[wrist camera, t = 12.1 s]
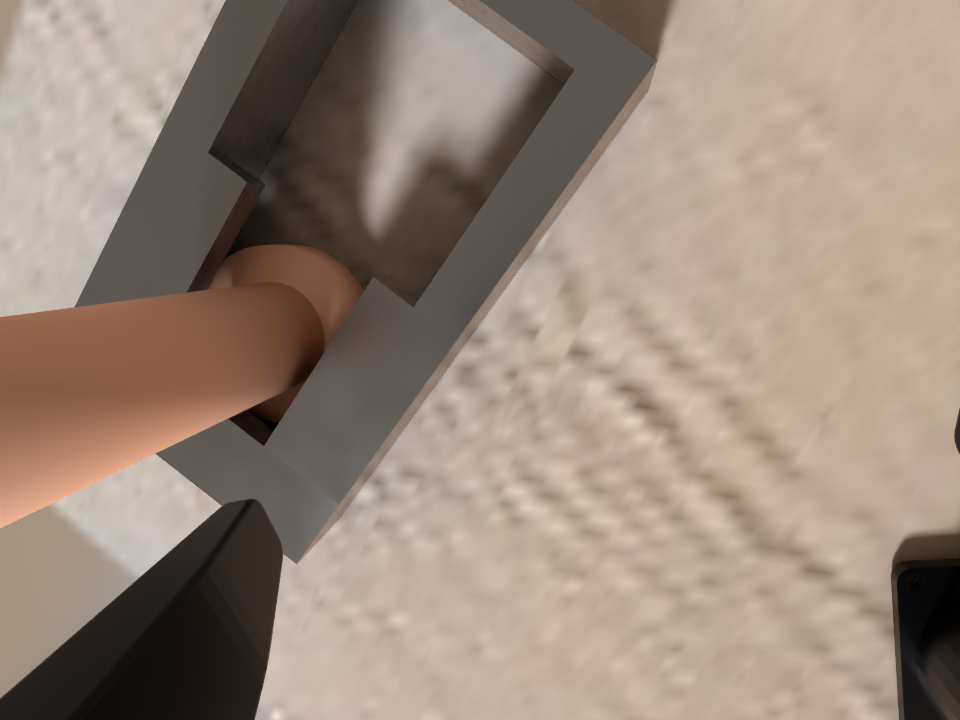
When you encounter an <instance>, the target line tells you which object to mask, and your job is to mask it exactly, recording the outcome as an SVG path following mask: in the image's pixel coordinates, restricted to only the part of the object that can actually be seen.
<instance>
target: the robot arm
mask: <svg viewBox="0 0 960 720" xmlns="http://www.w3.org/2000/svg"><path fill="white" fill-rule="evenodd" d="M954 437H955V444H956V447H957V449H958V452H959V453H960V409H959V413H958V418H957V423H956V427H955V433H954ZM282 561H283V548H282V543H281V540H280V538H279V536H278V534H277V532H276V530H275V528H274V526H273V524H272V523H271V521H270V519H269V517H268V515H267V513H266V511H265V509H264V507H263V506H262V504H261V503H260V502H259V501H258V500H256V499H246V500H240V501H234V502H229V503H226V504H224V505H223V506H222V507H221V508H219V509H218V510H217V511H216V512H215V513H214V514H212V515H211V516H210V517H209V518H208V519H207V520H206V521H204V522H203V523H202V524H201V525H200V526H199V527H197V528H196V529H195V530H194V531H193V532H192V533H191V534H189V535H188V536H187V537H186V538H185V539H184V540H182V541H181V542H180V543H179V544H178V545H177V546H176V547H174V548H173V549H172V550H171V551H170V552H169V553H167V554H166V555H165V556H164V557H163V558H162V559H161V560H159V561H158V562H157V563H156V564H155V565H154V566H152V567H151V568H150V569H149V570H148V571H147V572H146V573H144V574H143V575H142V576H141V577H140V578H139V579H137V580H136V581H135V582H134V583H133V584H132V585H131V586H129V587H128V588H127V589H126V590H125V591H124V592H122V593H121V594H120V595H119V596H118V597H117V598H116V599H115V600H114V601H112V602H111V603H110V604H109V605H108V606H106V607H105V608H104V609H103V610H102V611H101V612H99V613H98V614H97V615H96V616H95V617H94V618H93V619H91V620H90V621H89V622H88V623H87V624H86V625H84V627H82V628H81V629H80V630H79V631H77V632H76V633H75V634H74V635H73V636H72V637H71V638H69V639H68V640H67V641H66V642H65V643H64V644H63V645H61V646H60V647H59V648H58V649H57V650H56V651H54V652H53V653H52V654H51V655H50V656H49V657H48V658H46V659H45V660H44V661H43V662H42V663H41V664H40V665H38V666H37V667H36V668H35V669H34V670H32V671H31V672H30V673H29V674H28V675H27V676H26V677H24V678H23V679H22V680H21V681H20V682H19V683H18V684H16V685H15V686H14V687H13V688H12V689H11V690H9V691H8V692H7V693H6V694H5V695H4V696H3V697H1V698H0V720H255V716H256V712H257V708H258V704H259V700H260V696H261V692H262V688H263V683H264V679H265V674H266V670H267V665H268V659H269V653H270V647H271V640H272V633H273V626H274V619H275V611H276V604H277V597H278V590H279V583H280V575H281V568H282ZM912 575H918V577H917V580H916V581H914V582H912V583H906V579H907V578H908V577H909V576H912ZM891 586H892V603H893V621H894V638H895V656H896V673H897V690H898V708H899V720H960V559H941V560H919V561H906V562H901V563H899V564H898V565H896V566H895V567H894V569H893V570H892V573H891Z"/></svg>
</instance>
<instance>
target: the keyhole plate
mask: <svg viewBox="0 0 960 720" xmlns="http://www.w3.org/2000/svg"><path fill="white" fill-rule="evenodd" d="M357 1H358V0H226V1H225V3H224V5H223V7H222V9H221V11H220V13H219V15H218V17H217V19H216V21H215V23H214V25H213V27H212V29H211V31H210V33H209V35H208V37H207V40H206V42H205V44H204V46H203V48H202V50H201V52H200V54H199V56H198V58H197V60H196V62H195V64H194V66H193V68H192V70H191V72H190V74H189V76H188V78H187V80H186V82H185V84H184V86H183V88H182V90H181V92H180V94H179V96H178V98H177V100H176V102H175V104H174V106H173V109H172V111H171V113H170V115H169V117H168V119H167V121H166V123H165V125H164V127H163V129H162V131H161V133H160V135H159V137H158V139H157V141H156V143H155V145H154V147H153V149H152V151H151V153H150V155H149V157H148V159H147V161H146V163H145V165H144V167H143V169H142V171H141V173H140V176H139V178H138V180H137V182H136V184H135V186H134V188H133V190H132V192H131V194H130V196H129V198H128V200H127V202H126V204H125V206H124V208H123V210H122V212H121V214H120V216H119V218H118V220H117V222H116V224H115V226H114V228H113V230H112V232H111V234H110V236H109V238H108V240H107V242H106V245H105V247H104V249H103V251H102V253H101V255H100V257H99V259H98V261H97V263H96V265H95V267H94V269H93V271H92V273H91V275H90V277H89V279H88V281H87V283H86V285H85V287H84V289H83V291H82V293H81V295H80V297H79V299H78V301H77V303H76V305H75V307H82V306H90V305H97V304H105V303H112V302H120V301H127V300H135V299H142V298H150V297H157V296H165V295H173V294H180V293H188V292H195V291H203V290H207V288H208V287H209V285H210V283H211V281H212V279H213V278H214V276H215V274H216V272H217V271H218V269H219V267H220V265H221V263H222V262H223V260H224V258H225V256H226V254H227V253H228V251H229V249H230V247H231V245H232V244H233V242H234V240H235V238H236V237H237V235H238V233H239V231H240V229H241V228H242V226H243V224H244V222H245V220H246V219H247V217H248V215H249V213H250V212H251V210H252V208H253V206H254V204H255V203H256V201H257V199H258V197H259V195H260V194H261V192H262V190H263V188H264V187H265V184H264V183H262V182H261V181H260V180H258V179H259V177H260V176H261V174H262V172H263V170H264V168H265V166H266V165H267V163H268V161H269V159H270V157H271V156H272V154H273V152H274V150H275V148H276V147H277V145H278V143H279V141H280V139H281V138H282V136H283V134H284V132H285V130H286V129H287V127H288V125H289V123H290V121H291V120H292V118H293V116H294V114H295V112H296V111H297V109H298V107H299V105H300V103H301V102H302V100H303V98H304V96H305V94H306V93H307V91H308V89H309V87H310V85H311V84H312V82H313V80H314V78H315V76H316V75H317V73H318V71H319V69H320V67H321V66H322V64H323V62H324V60H325V58H326V56H327V55H328V53H329V51H330V49H331V47H332V46H333V44H334V42H335V40H336V38H337V37H338V35H339V33H340V31H341V29H342V28H343V26H344V24H345V22H346V20H347V19H348V17H349V15H350V13H351V11H352V10H353V8H354V6H355V4H356V2H357ZM449 1H450V2H451V3H453V4H454V5H456V6H457V7H458V8H460V9H461V10H462V11H464V12H465V13H467V14H468V15H469V16H471V17H472V18H473V19H475V20H476V21H478V22H479V23H480V24H482V25H483V26H485V27H486V28H487V29H489V30H490V31H491V32H493V33H494V34H496V35H497V36H498V37H500V38H501V39H502V40H504V41H505V42H507V43H508V44H509V45H511V46H512V47H513V48H515V49H516V50H518V51H519V52H520V53H522V54H523V55H524V56H526V57H527V58H529V59H530V60H531V61H533V62H534V63H535V64H537V65H538V66H540V67H541V68H542V69H544V70H545V71H547V72H548V73H549V74H551V75H552V76H553V77H555V78H556V79H558V80H559V81H560V82H562V83H563V84H564V86H563V88H562V89H561V91H560V92H559V94H558V95H557V97H556V98H555V100H554V101H553V103H552V104H551V106H550V107H549V109H548V110H547V111H546V113H545V114H544V116H543V117H542V119H541V120H540V122H539V123H538V125H537V126H536V128H535V129H534V131H533V132H532V134H531V135H530V137H529V138H528V139H527V141H526V142H525V144H524V145H523V147H522V148H521V150H520V151H519V153H518V154H517V156H516V157H515V159H514V160H513V162H512V163H511V165H510V166H509V167H508V169H507V170H506V172H505V173H504V175H503V176H502V178H501V179H500V181H499V182H498V184H497V185H496V187H495V188H494V190H493V191H492V193H491V194H490V195H489V197H488V198H487V200H486V201H485V203H484V204H483V206H482V207H481V209H480V210H479V212H478V213H477V215H476V216H475V218H474V219H473V221H472V222H471V223H470V225H469V226H468V228H467V229H466V231H465V232H464V234H463V235H462V237H461V238H460V240H459V241H458V243H457V244H456V246H455V247H454V249H453V250H452V251H451V253H450V254H449V256H448V257H447V259H446V260H445V262H444V263H443V265H442V266H441V268H440V269H439V271H438V272H437V274H436V275H435V277H434V278H433V279H432V281H431V282H430V284H429V285H428V287H427V288H426V290H425V291H424V293H423V294H422V296H421V297H420V299H419V300H418V299H416V298H415V297H414V296H412V295H411V294H410V293H408V292H407V291H406V290H404V289H403V288H402V287H400V286H399V285H398V284H396V283H395V282H394V281H392V280H391V279H390V278H388V277H387V276H386V275H383V276H377V277H373V278H372V280H371V281H370V283H369V284H368V286H367V287H366V289H365V291H364V292H363V294H362V295H361V297H360V298H359V300H358V301H357V303H356V304H355V306H354V308H353V309H352V311H351V312H350V314H349V315H348V317H347V318H346V320H345V322H344V323H343V325H342V326H341V328H340V329H339V331H338V332H337V334H336V335H335V337H334V339H333V340H332V342H331V343H330V345H329V346H328V348H327V349H326V351H325V352H324V354H323V356H322V357H321V359H320V360H319V362H318V363H317V365H316V366H315V368H314V370H313V371H312V373H311V374H310V376H309V377H308V379H307V380H306V382H305V383H304V385H303V387H302V388H301V390H300V391H299V393H298V394H297V396H296V397H295V399H294V401H293V402H292V404H291V405H290V407H289V408H288V410H287V411H286V413H285V414H284V416H283V418H282V419H281V421H280V422H279V424H278V425H277V427H276V428H274V427H273V426H271V425H270V424H269V423H268V422H266V421H265V420H263V419H260V418H257V417H254V416H253V415H251V414H250V413H249V412H248V411H246V410H245V411H242V412H240V413H238V414H236V415H234V416H232V417H230V418H228V419H226V420H224V421H222V422H220V423H218V424H216V425H213V426H211V427H209V428H207V429H205V430H203V431H201V432H199V433H197V434H195V435H193V436H191V437H189V438H186V439H184V440H182V441H180V442H178V443H176V444H174V445H172V446H170V447H168V448H166V449H164V450H162V451H159V452H157V453H155V454H157V455H158V456H159V457H160V458H162V459H163V460H164V461H166V462H167V463H168V464H169V465H171V466H172V467H173V468H174V469H176V470H177V471H178V472H180V473H181V474H182V475H183V476H185V477H186V478H187V479H189V480H190V481H191V482H192V483H194V484H195V485H196V486H197V487H199V488H200V489H201V490H203V491H204V492H205V493H206V494H208V495H209V496H210V497H212V498H213V499H214V500H215V501H217V502H218V503H219V504H220V505H222V506H223V505H224V504H226V503H229V502H234V501H240V500H246V499H256V500H258V501H259V502H260V503H261V504H262V506H263V507H264V509H265V511H266V513H267V515H268V517H269V519H270V521H271V523H272V524H273V526H274V528H275V530H276V532H277V534H278V536H279V538H280V540H281V543H282V548H283V554H284V555H286V556H287V557H288V558H289V559H291V560H292V561H293V562H295V563H296V564H297V563H298V562H299V561H300V560H301V559H302V558H303V557H304V556H305V555H306V554H307V553H308V552H309V551H310V550H311V548H312V547H313V546H314V545H315V544H316V543H317V542H318V541H319V540H320V539H321V538H322V537H323V536H324V535H325V534H326V533H327V531H328V530H329V529H330V528H331V527H332V526H333V525H334V524H335V523H336V522H337V521H338V520H339V519H340V517H341V516H342V514H343V513H344V512H345V510H346V509H347V507H348V506H349V505H350V503H351V502H352V501H353V499H354V498H355V496H356V495H357V494H358V492H359V491H360V489H361V488H362V487H363V485H364V484H365V482H366V481H367V480H368V478H369V477H370V476H371V474H372V473H373V471H374V470H375V469H376V467H377V466H378V464H379V463H380V462H381V460H382V459H383V458H384V456H385V455H386V453H387V452H388V451H389V449H390V448H391V446H392V445H393V444H394V442H395V441H396V440H397V438H398V437H399V435H400V434H401V433H402V431H403V430H404V428H405V427H406V426H407V424H408V423H409V421H410V420H411V419H412V417H413V416H414V415H415V413H416V412H417V410H418V409H419V408H420V406H421V405H422V403H423V402H424V401H425V399H426V398H427V397H428V395H429V394H430V392H431V391H432V390H433V388H434V387H435V385H436V384H437V383H438V381H439V380H440V379H441V377H442V376H443V374H444V373H445V372H446V370H447V369H448V367H449V366H450V365H451V363H452V362H453V361H454V359H455V358H456V356H457V355H458V354H459V352H460V351H461V349H462V348H463V347H464V345H465V344H466V342H467V341H468V340H469V338H470V337H471V336H472V334H473V333H474V331H475V330H476V329H477V327H478V326H479V324H480V323H481V322H482V320H483V319H484V318H485V316H486V315H487V313H488V312H489V311H490V309H491V308H492V306H493V305H494V304H495V302H496V301H497V300H498V298H499V297H500V295H501V294H502V293H503V291H504V290H505V288H506V287H507V286H508V284H509V283H510V281H511V280H512V279H513V277H514V276H515V275H516V273H517V272H518V270H519V269H520V268H521V266H522V265H523V263H524V262H525V261H526V259H527V258H528V257H529V255H530V254H531V252H532V251H533V250H534V248H535V247H536V245H537V244H538V243H539V241H540V240H541V239H542V237H543V236H544V234H545V233H546V232H547V230H548V229H549V227H550V226H551V225H552V223H553V222H554V220H555V219H556V218H557V216H558V215H559V214H560V212H561V211H562V209H563V208H564V207H565V205H566V204H567V202H568V201H569V200H570V198H571V197H572V196H573V194H574V193H575V191H576V190H577V189H578V187H579V186H580V184H581V183H582V182H583V180H584V179H585V178H586V176H587V175H588V173H589V172H590V171H591V169H592V168H593V166H594V165H595V164H596V162H597V161H598V160H599V158H600V157H601V155H602V154H603V153H604V151H605V150H606V148H607V147H608V146H609V144H610V143H611V141H612V140H613V139H614V137H615V136H616V135H617V133H618V132H619V130H620V129H621V128H622V126H623V125H624V123H625V122H626V121H627V119H628V118H629V117H630V115H631V114H632V112H633V111H634V110H635V108H636V107H637V105H638V104H639V103H640V101H641V100H642V99H643V97H644V96H645V94H646V93H647V92H648V89H649V86H650V82H651V79H652V76H653V72H654V69H655V66H656V62H657V60H656V59H655V58H653V57H652V56H650V55H649V54H648V53H646V52H645V51H643V50H642V49H641V48H639V47H638V46H636V45H635V44H634V43H632V42H631V41H629V40H628V39H627V38H625V37H624V36H623V35H621V34H620V33H618V32H617V31H616V30H614V29H613V28H611V27H610V26H609V25H607V24H606V23H604V22H603V21H602V20H600V19H599V18H597V17H596V16H595V15H593V14H592V13H591V12H589V11H588V10H586V9H585V8H584V7H582V6H581V5H579V4H578V3H577V2H575V1H574V0H449ZM75 307H74V308H75Z"/></svg>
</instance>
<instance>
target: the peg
mask: <svg viewBox="0 0 960 720" xmlns="http://www.w3.org/2000/svg"><path fill="white" fill-rule="evenodd" d="M363 292H364V290H363V288H362V286H361V285H360V283H359V282H358V280H357V279H356V278H355V277H354V275H353V274H352V273H351V272H350V271H349V270H348V269H347V268H346V267H345V266H344V265H343V264H342V263H341V262H339V261H338V260H336V259H335V258H334V257H332V256H330V255H329V254H327V253H325V252H323V251H320V250H318V249H315V248H312V247H308V246H304V245H295V244H282V245H258V246H253V247H248V248H245V249H242V250H240V251H237V252H235V253H234V254H232V255H230V256H228V257H227V258H226V259H224V260H223V262H222V263H221V265H220V267H219V269H218V271H217V272H216V274H215V276H214V278H213V279H212V281H211V283H210V285H209V287H208V288H207V290H203V291H195V292H188V293H180V294H173V295H165V296H157V297H150V298H142V299H135V300H127V301H120V302H112V303H105V304H97V305H90V306H82V307H75V308H67V309H60V310H52V311H45V312H37V313H30V314H22V315H15V316H7V317H0V528H2V527H4V526H6V525H8V524H10V523H12V522H14V521H16V520H18V519H20V518H22V517H24V516H27V515H29V514H31V513H33V512H35V511H37V510H39V509H41V508H43V507H45V506H47V505H49V504H52V503H54V502H56V501H58V500H60V499H62V498H64V497H66V496H68V495H70V494H72V493H74V492H76V491H78V490H81V489H83V488H85V487H87V486H89V485H91V484H93V483H95V482H97V481H99V480H101V479H103V478H105V477H108V476H110V475H112V474H114V473H116V472H118V471H120V470H122V469H124V468H126V467H128V466H130V465H132V464H135V463H137V462H139V461H141V460H143V459H145V458H147V457H149V456H151V455H153V454H155V453H157V452H159V451H162V450H164V449H166V448H168V447H170V446H172V445H174V444H176V443H178V442H180V441H182V440H184V439H186V438H189V437H191V436H193V435H195V434H197V433H199V432H201V431H203V430H205V429H207V428H209V427H211V426H213V425H216V424H218V423H220V422H222V421H224V420H226V419H228V418H230V417H232V416H234V415H236V414H238V413H240V412H242V411H245V410H246V411H248V412H249V413H250V414H251V415H253V416H254V417H257V418H260V419H263V420H267V421H272V422H280V421H281V419H282V418H283V416H284V414H285V413H286V411H287V410H288V408H289V407H290V405H291V404H292V402H293V401H294V399H295V397H296V396H297V394H298V393H299V391H300V390H301V388H302V387H303V385H304V383H305V382H306V380H307V379H308V377H309V376H310V374H311V373H312V371H313V370H314V368H315V366H316V365H317V363H318V362H319V360H320V359H321V357H322V356H323V354H324V352H325V351H326V349H327V348H328V346H329V345H330V343H331V342H332V340H333V339H334V337H335V335H336V334H337V332H338V331H339V329H340V328H341V326H342V325H343V323H344V322H345V320H346V318H347V317H348V315H349V314H350V312H351V311H352V309H353V308H354V306H355V304H356V303H357V301H358V300H359V298H360V297H361V295H362V294H363Z"/></svg>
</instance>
